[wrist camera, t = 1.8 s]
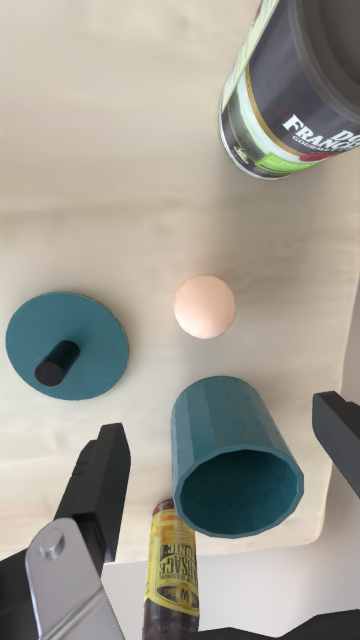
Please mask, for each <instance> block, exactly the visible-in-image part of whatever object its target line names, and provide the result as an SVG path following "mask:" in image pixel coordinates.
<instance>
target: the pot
mask: <svg viewBox="0 0 360 640" xmlns="http://www.w3.org/2000/svg"><path fill="white" fill-rule="evenodd" d="M171 441H172V482H173V500H174V504H175V508H176V512H177V515H178V516H179V517H180V518H181V519H182V520H183V521H184V522H185V523H186V524H187V525H188V526H189V527H190V528H191V529H193V530H195V531H198V532H200V533H202V534H205V535H207V536H209V537H218V538H228V539H236V538H242V537H248V536H254V535H258V534H260V533H262V532H264V531H266V530H269V529H271V528H273V527H275V526H277V525H279V524H280V523H281V522H283V521H284V520H285V519H286V518H287V517H288V516H289V515H291V514H292V513H293V512H294V511H295V509H296V507H297V505H298V503H299V502H300V500H301V498H302V496H303V494H304V475H303V473H302V471H301V469H300V467H299V465H298V464H297V462H296V460H295V458H294V456H293V455H292V453H291V451H290V449H289V447H288V446H287V444H286V442H285V440H284V438H283V437H282V435H281V433H280V431H279V430H278V428H277V426H276V424H275V422H274V421H273V419H272V417H271V415H270V413H269V412H268V410H267V408H266V406H265V404H264V403H263V401H262V399H261V398H260V396H259V394H258V393H257V391H256V390H255V389H254V388H253V387H252V386H250V385H249V384H248V383H246V382H244V381H242V380H240V379H237V378H233V377H227V376H216V377H210V378H205V379H203V380H200V381H198V382H196V383H194V384H192V385H191V386H189V387H188V388H187V389H185V390H184V391H183V392H182V393H181V395H180V396H179V397H178V399H177V400H176V402H175V404H174V407H173V411H172V417H171Z"/></svg>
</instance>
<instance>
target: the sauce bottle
mask: <svg viewBox="0 0 360 640" xmlns="http://www.w3.org/2000/svg"><path fill="white" fill-rule="evenodd" d="M144 609H145V610H144V622H143V628H142V640H189V636H188V633H192V632H198V627H199V618H200V617H199V616H200V614H199V597H198V579H197V561H196V544H195V530H193V529H191V528H190V527H189V526H188V525H187V524H186V523H185V522H184V521H183V520H182V519H181V518H180V517H179V516H178V515H177V512H176V508H175V504H174V500H172V501H171V500H166V501H164V502H162V503H161V504H159V505H158V506H157V507H156V508H155V509H154V512H153V518H152V521H151V528H150V540H149V552H148V564H147V576H146V587H145V598H144Z"/></svg>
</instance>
